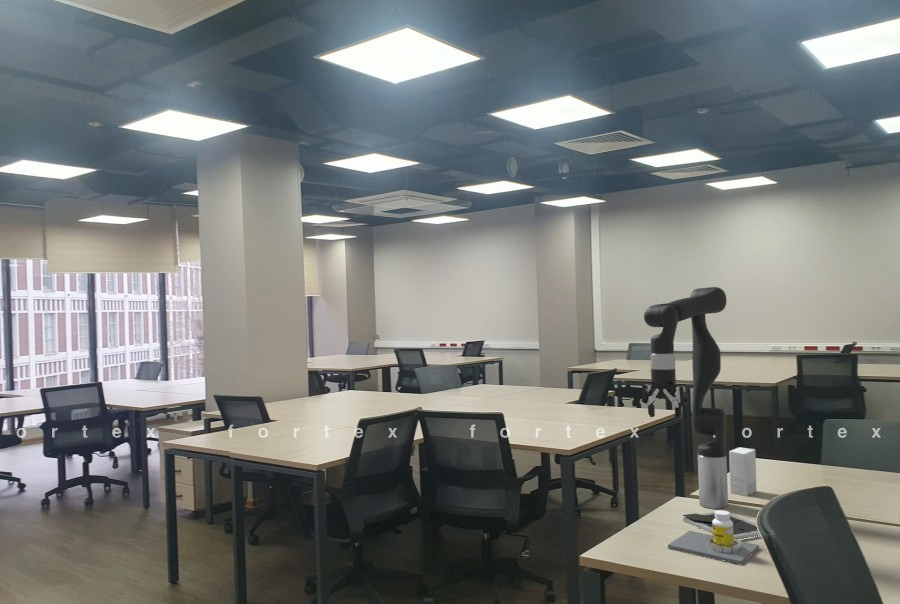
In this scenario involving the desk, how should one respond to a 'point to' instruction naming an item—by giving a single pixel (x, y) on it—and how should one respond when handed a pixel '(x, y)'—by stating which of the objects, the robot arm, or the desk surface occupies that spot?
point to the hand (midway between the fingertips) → (664, 417)
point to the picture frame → (740, 525)
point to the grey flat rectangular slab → (697, 545)
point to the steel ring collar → (724, 549)
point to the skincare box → (742, 471)
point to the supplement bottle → (722, 529)
